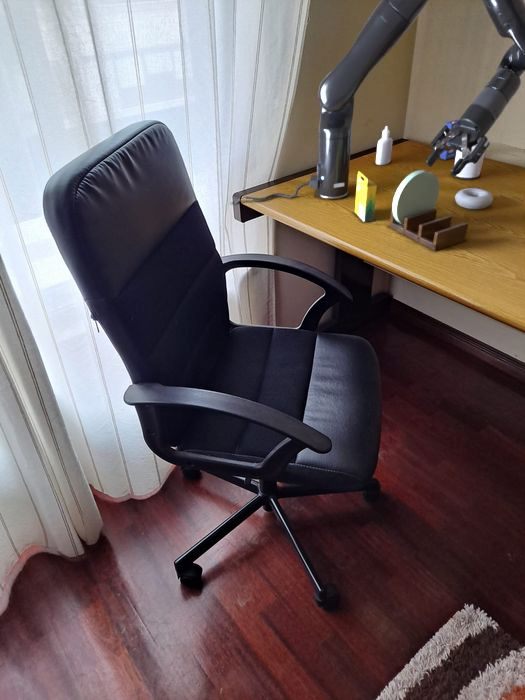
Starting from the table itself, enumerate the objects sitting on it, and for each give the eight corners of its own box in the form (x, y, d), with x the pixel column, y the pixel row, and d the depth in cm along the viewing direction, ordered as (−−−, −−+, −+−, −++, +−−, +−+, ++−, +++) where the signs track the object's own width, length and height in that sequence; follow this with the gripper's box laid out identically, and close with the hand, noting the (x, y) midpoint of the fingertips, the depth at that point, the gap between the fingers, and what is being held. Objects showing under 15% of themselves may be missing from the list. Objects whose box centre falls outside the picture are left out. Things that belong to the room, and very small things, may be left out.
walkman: (445, 159, 172) (452, 122, 164) (439, 158, 173) (445, 121, 166) (461, 155, 175) (468, 118, 167) (455, 153, 176) (461, 117, 169)
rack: (389, 227, 132) (391, 210, 129) (417, 218, 135) (420, 202, 132) (434, 250, 120) (437, 233, 117) (464, 240, 123) (468, 223, 121)
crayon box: (374, 221, 135) (378, 178, 128) (363, 222, 135) (367, 179, 127) (364, 210, 141) (367, 169, 134) (354, 212, 140) (357, 170, 133)
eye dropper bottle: (373, 161, 173) (376, 125, 166) (388, 160, 174) (392, 123, 166) (377, 165, 170) (380, 128, 163) (393, 164, 171) (397, 127, 163)
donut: (496, 202, 141) (462, 195, 146) (499, 190, 139) (464, 183, 144) (483, 214, 135) (448, 206, 140) (486, 202, 133) (450, 194, 138)
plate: (388, 231, 129) (395, 176, 120) (429, 219, 134) (438, 164, 125) (393, 234, 128) (400, 178, 119) (434, 221, 133) (443, 166, 124)
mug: (483, 180, 155) (490, 146, 148) (453, 180, 156) (459, 146, 150) (476, 168, 163) (483, 135, 157) (448, 168, 165) (454, 136, 158)
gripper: (455, 98, 125) (413, 153, 128) (501, 108, 115) (455, 168, 118) (466, 117, 130) (426, 170, 133) (511, 128, 120) (467, 185, 123)
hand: (440, 169), depth 125 cm, fingers open, 8 cm apart
